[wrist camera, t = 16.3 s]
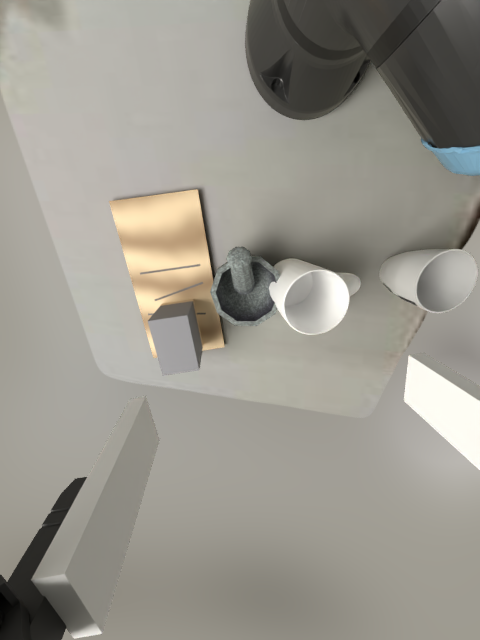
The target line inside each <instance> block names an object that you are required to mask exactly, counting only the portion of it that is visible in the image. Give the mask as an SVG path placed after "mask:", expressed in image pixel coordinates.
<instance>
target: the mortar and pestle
mask: <svg viewBox="0 0 480 640" xmlns="http://www.w3.org/2000/svg"><path fill="white" fill-rule="evenodd" d="M279 278H280V275H279V271H277V270H276V269H275V268H274V267H273V266H271V265H270V264H269V263H268V262H266V261H265V260H264V259H263V258H262V257H260V256H251V254H250V251H249V250H247V249H246V248H244V247H235V248H233V249H232V250H230V251H229V253H228V256H227V262H226V263H225V264H224V265H222V266H221V267H219V268H218V269H217V272H216V275H215V278H214V281H213V284H212V287H211V291H210V293H211V296H212V299H213V302H214V305H215V308H216V311H217V313H218V314H219V315H221V316H222V317H223V318H225V319H226V320H228V321H229V322H230V323H232V324H233V325H235V326H257V325H259V324H260V323H262V322H263V321H265V320H267V319H268V318H270V317H271V316H273V315H274V314H275V313H276V311H277V307H276V305H275V302H274V301H273V299H272V298H271V296H270V291H269V286H270V284H271V282H275V283H277V281H278V279H279Z"/></svg>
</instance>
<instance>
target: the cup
mask: <svg viewBox="0 0 480 640" xmlns="http://www.w3.org/2000/svg"><path fill="white" fill-rule="evenodd" d="M379 277H380V280H381V282H382V283H383V284H384V285H385V286H386V287H387V288H388V290H390V291H391V292H392V293H394V294H395V295H397V296H398V297H400V298H401V299H403V300H404V301H406V302H409V303H411V304H413V305H415V306H417V307H419V308H422V309H424V310H426V311H428V312H431V313H444V312H447V311H450V310H452V309H454V308H456V307H458V306H459V305H460V304H462V303H463V302H464V301H465V300H466V299H467V298H468V296H469V295H470V294H471V292H472V291H473V289H474V287H475V285H476V282H477V278H478V266H477V263H476V260H475V259H474V257H473V256H472V255H471V254H470V253H468V252H467V251H464V250H460V249H425V250H417V251H410V252H404V253H401V254H398V255H395V256H392V257H390V258H388V259H387V260H386V261H385V262H384V263H383V264H382V266H381V268H380V272H379Z"/></svg>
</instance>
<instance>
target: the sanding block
mask: <svg viewBox="0 0 480 640" xmlns="http://www.w3.org/2000/svg"><path fill="white" fill-rule="evenodd" d="M148 325H149V328H150V332H151V335H152V339H153V343H154V346H155V350H156V353H157V357H158V361H159V364H160V368H161V371H162V375H163V376H164V375H171V374H177V373H184V372H190V371H197V370H199V368H200V362H201V355H202V349H203V342H202V337H201V332H200V327H199V322H198V317H197V313H196V308H195V303H194V299H191V300H184V301H177V302H170V303H163V304H161V305H160V307H159V308H158V309H157V310H156V311H155V313H154V314H153V315H152V316H151V318H150V319H149V320H148Z"/></svg>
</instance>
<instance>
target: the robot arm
mask: <svg viewBox="0 0 480 640" xmlns="http://www.w3.org/2000/svg"><path fill="white" fill-rule="evenodd" d="M245 48H246V58H247V63H248V67H249V71H250V74H251V77H252V80H253V82H254V84H255V86H256V88H257V90H258V92H259V93H260V95H261V96H262V98H263V99H264V100H265V101H266V102H267V103H268V104H269V105H270V106H271V107H272V108H273V109H274V110H276V111H277V112H279V113H280V114H282V115H284V116H287V117H289V118H293V119H298V120H309V119H314V118H318V117H321V116H323V115H325V114H327V113H329V112H331V111H332V110H334V109H335V108H336V107H337V106H339V105H340V104H341V103H342V102H343V101H344V100H345V99H346V97H347V96H348V95H349V94H350V93H351V92H352V91H353V90H354V88H355V87H356V86H357V84H358V83H359V81H360V80H361V78H362V77H363V75H364V73H365V71H366V69H367V67H368V65H369V63H370V60H371V61H372V63H373V64H374V66H375V67H376V69H377V71H378V72H379V74H380V75H381V77H382V78H383V80H384V81H385V83H386V84H387V86H388V87H389V89H390V90H391V92H392V93H393V95H394V96H395V98H396V100H397V101H398V103H399V104H400V106H401V107H402V109H403V110H404V112H405V113H406V115H407V116H408V118H409V119H410V121H411V123H412V124H413V126H414V127H415V129H416V130H417V132H418V133H419V135H420V136H421V142H422V144H423V145H424V146H425V147H426V148H427V149H428V150H431V151H432V152H433V153H434V154H435V156H436V157H437V158H438V159H439V161H440V162H441V163H442V165H443V166H444V167H445V168H446V169H448V170H449V171H451V172H453V173H456V174H466V175H470V176H475V175H480V0H251V1H250V5H249V10H248V17H247V25H246V36H245ZM404 401H405V402H406V403H407V404H408V405H409V406H410V407H411V408H412V409H414V410H415V411H416V412H417V413H418V414H419V415H420V416H421V417H422V418H423V419H424V420H425V421H427V422H428V423H429V424H430V425H431V426H432V427H433V428H434V429H435V430H436V431H437V432H438V433H440V434H441V435H442V436H443V437H444V438H445V439H446V440H447V441H448V442H449V443H451V444H452V445H453V446H454V447H455V448H456V449H457V450H458V451H459V452H461V454H462V455H464V456H465V457H466V458H467V459H468V460H469V461H470V462H471V463H472V464H473V465H474V466H476V467H477V468H478V469H479V470H480V386H479V385H477V384H476V383H474V382H472V381H471V380H469V379H467V378H465V377H464V376H462V375H460V374H459V373H457V372H455V371H454V370H452V369H450V368H449V367H447V366H445V365H444V364H442V363H440V362H439V361H437V360H435V359H433V358H432V357H430V356H428V355H426V354H425V353H420V354H413V355H409V359H408V368H407V377H406V386H405V395H404ZM158 443H159V437H158V434H157V430H156V427H155V424H154V421H153V418H152V414H151V411H150V408H149V405H148V402H147V398H146V396H145V397H138V398H131V399H130V400H129V401H128V403H127V405H126V407H125V409H124V411H123V413H122V414H121V416H120V418H119V420H118V422H117V423H116V425H115V427H114V429H113V431H112V433H111V434H110V436H109V438H108V440H107V442H106V444H105V446H104V447H103V449H102V451H101V453H100V455H99V457H98V458H97V460H96V462H95V464H94V466H93V467H92V469H91V471H90V473H89V475H88V477H84V478H77V479H75V480H74V481H73V482H72V483H71V484H70V485H69V486H68V487H67V488H66V489H65V490H64V492H62V493H61V495H60V496H59V498H58V500H57V501H56V503H55V505H54V506H53V508H52V510H51V513H50V514H49V515H48V516H47V518H46V520H45V521H44V523H43V524H42V528H41V529H39V531H38V533H37V534H36V536H35V537H34V539H33V541H32V542H31V544H30V546H29V547H28V549H27V551H26V552H25V554H24V555H23V557H22V559H21V560H20V562H19V564H18V565H17V567H16V569H15V570H14V572H13V573H12V575H11V577H10V578H9V580H8V582H6V580H5V579H4V578H3V577H2V575H0V640H61V639H62V637H63V634H64V632H65V629H67V630H68V631H69V633H70V634H71V635H72V637H73V638H80V637H85V636H92V635H97V634H102V633H103V630H104V626H105V623H106V619H107V616H108V612H109V609H110V606H111V603H112V599H113V596H114V592H115V589H116V586H117V582H118V579H119V576H120V572H121V569H122V565H123V562H124V559H125V555H126V552H127V548H128V545H129V542H130V538H131V535H132V531H133V528H134V525H135V521H136V518H137V515H138V511H139V508H140V504H141V501H142V497H143V494H144V490H145V487H146V484H147V481H148V477H149V474H150V470H151V467H152V464H153V460H154V457H155V453H156V450H157V447H158Z"/></svg>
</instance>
